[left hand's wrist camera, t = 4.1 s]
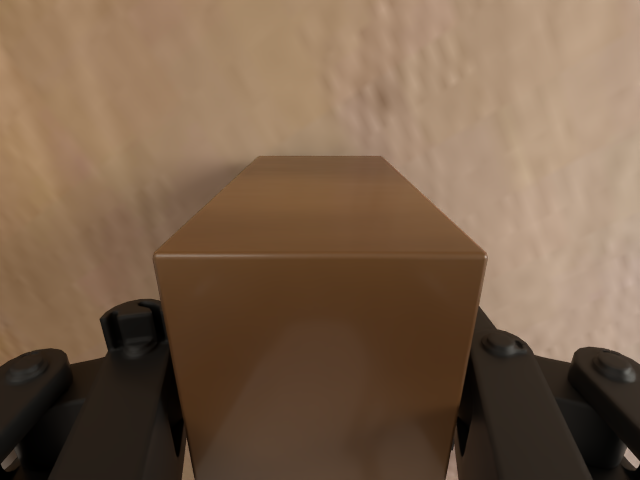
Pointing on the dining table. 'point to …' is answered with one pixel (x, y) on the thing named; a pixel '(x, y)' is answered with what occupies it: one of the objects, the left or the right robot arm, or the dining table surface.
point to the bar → (320, 323)
